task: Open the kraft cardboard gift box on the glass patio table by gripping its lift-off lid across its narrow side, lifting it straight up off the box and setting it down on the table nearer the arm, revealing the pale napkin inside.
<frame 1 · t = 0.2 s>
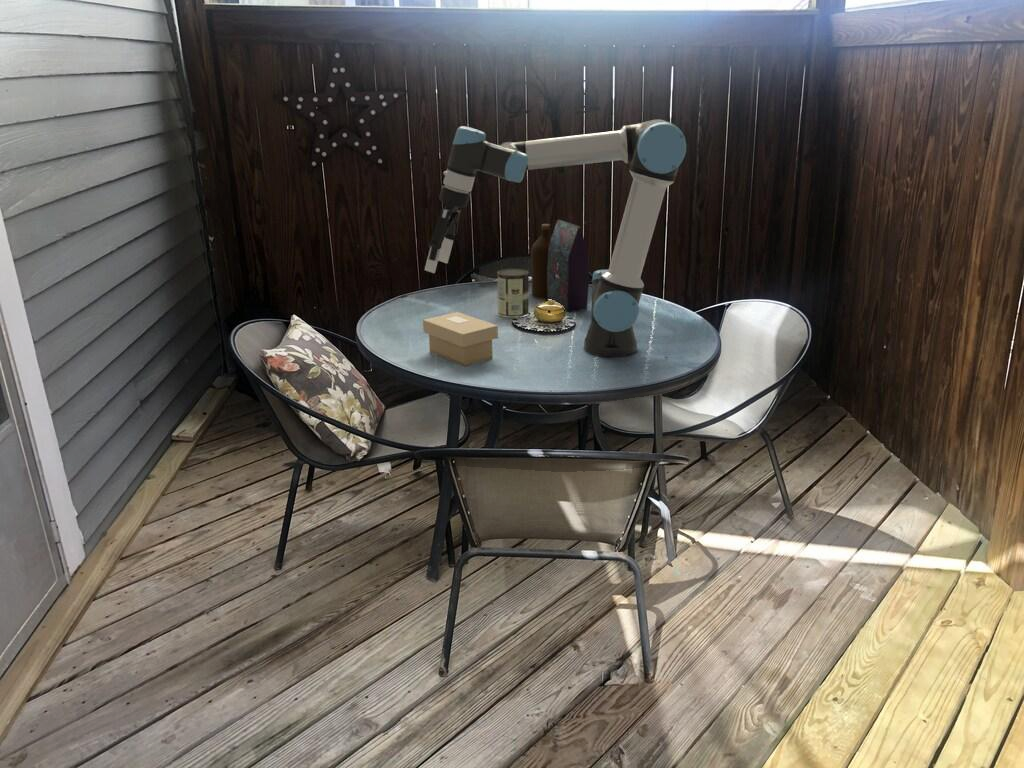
hand: (436, 266, 224), 26 cm above the table, tool tilted 15°, fingers open, 13 cm apart
decorative box: (567, 305, 287), on the table
napkin: (460, 347, 237), in the kraft box, point 2 cm above the table
lid: (460, 335, 235), point 6 cm above the table, touching kraft box
coffee can: (513, 314, 277), on the table
kraft box: (460, 355, 237), on the table
olive oil: (545, 295, 300), on the table
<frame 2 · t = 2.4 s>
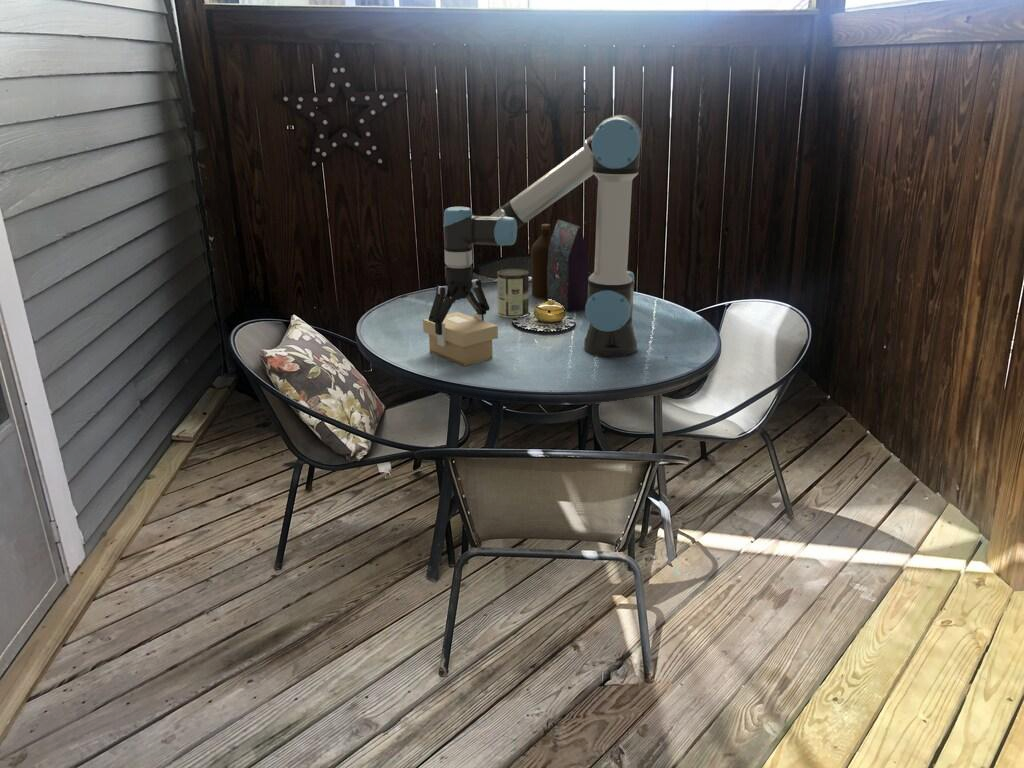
hand: (460, 340, 236), 4 cm above the table, tool pointing down, fingers closed on lid, 12 cm apart
lid: (460, 334, 235), point 6 cm above the table, touching gripper, kraft box
everything else where it was.
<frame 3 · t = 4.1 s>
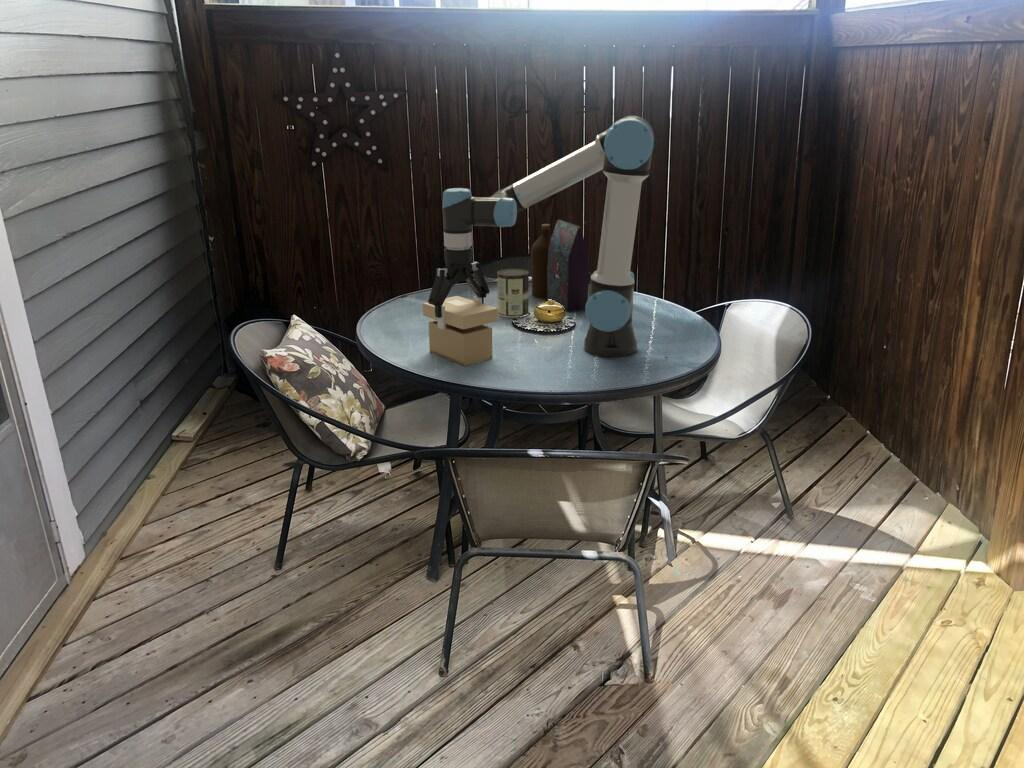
hand: (460, 324, 234), 9 cm above the table, tool pointing down, fingers closed on lid, 12 cm apart
lid: (460, 318, 233), point 11 cm above the table, touching gripper
everything else where it was.
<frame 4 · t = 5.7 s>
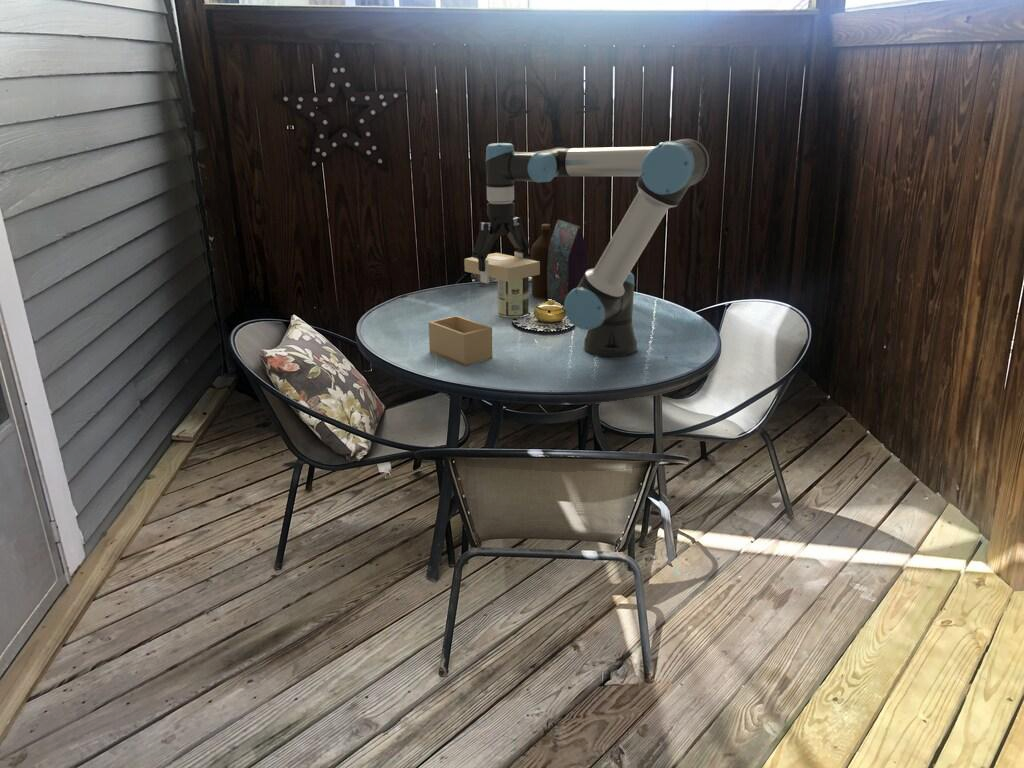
hand: (502, 278, 238), 20 cm above the table, tool pointing down, fingers closed on lid, 12 cm apart
lid: (501, 272, 237), point 22 cm above the table, touching gripper
everything else where it was.
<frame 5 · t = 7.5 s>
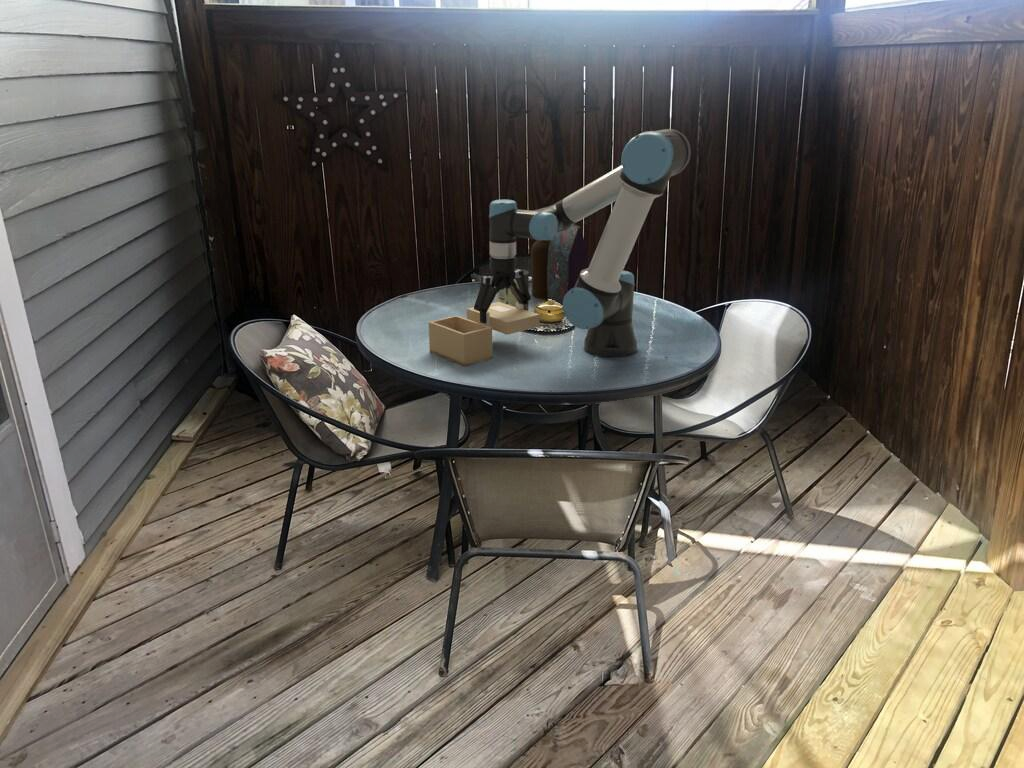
hand: (502, 329, 244), 5 cm above the table, tool pointing down, fingers closed on lid, 12 cm apart
lid: (502, 323, 244), point 7 cm above the table, touching gripper
everything else where it was.
when the fingers open (1 cm above the table, at t = 8.8 s): lid drops 3 cm, on the table.
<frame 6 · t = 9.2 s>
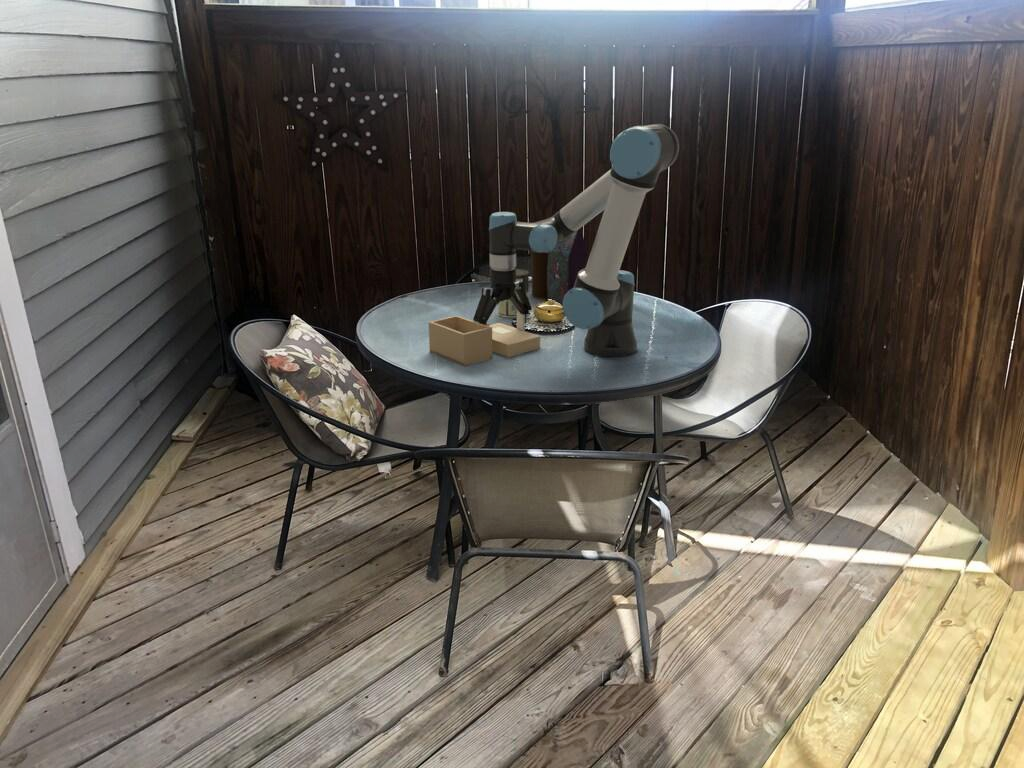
hand: (503, 339, 245), 2 cm above the table, tool pointing down, fingers open, 13 cm apart
lid: (503, 345, 246), on the table
everything else where it was.
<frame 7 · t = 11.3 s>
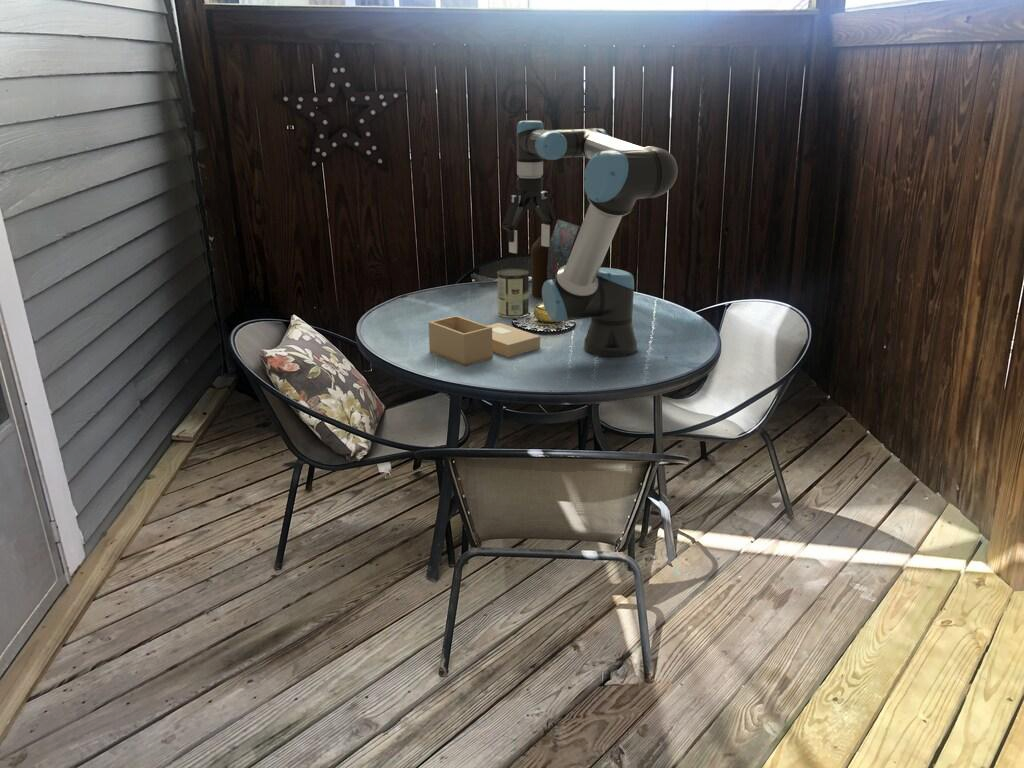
hand: (529, 249, 250), 25 cm above the table, tool pointing down, fingers open, 13 cm apart
nothing on the table moved.
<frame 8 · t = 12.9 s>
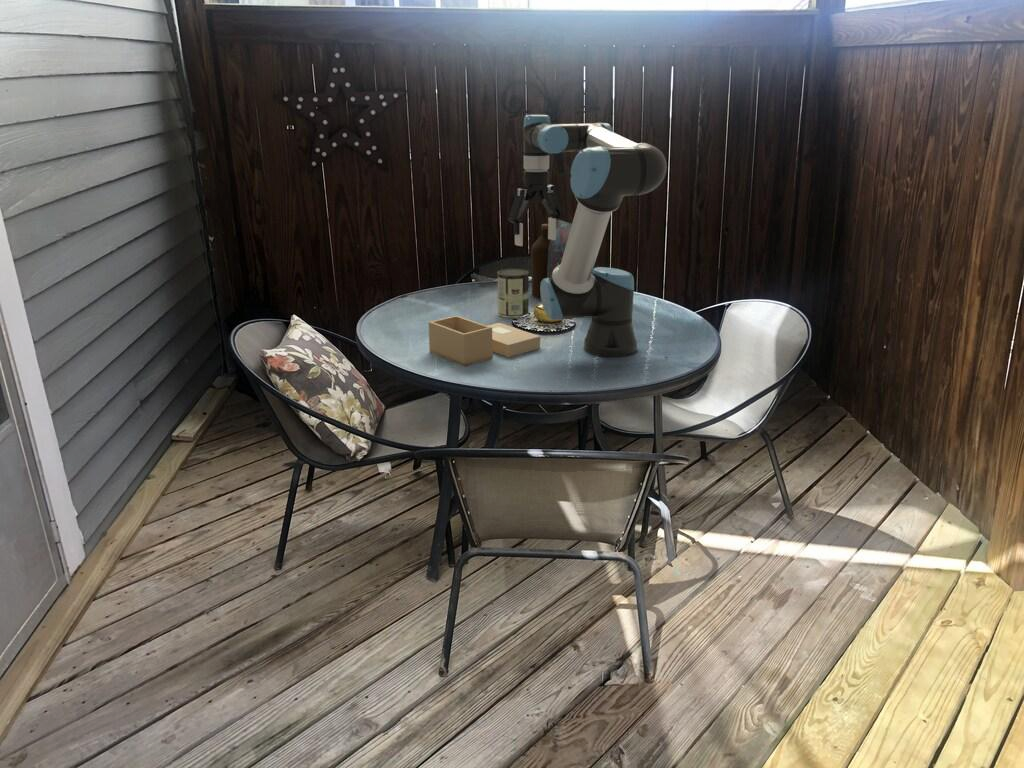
hand: (535, 242, 253), 27 cm above the table, tool pointing down, fingers open, 13 cm apart
nothing on the table moved.
at the end: lid inside the target area (0.1 cm from its centre), on the table; lid touching table; the gripper is holding nothing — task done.
